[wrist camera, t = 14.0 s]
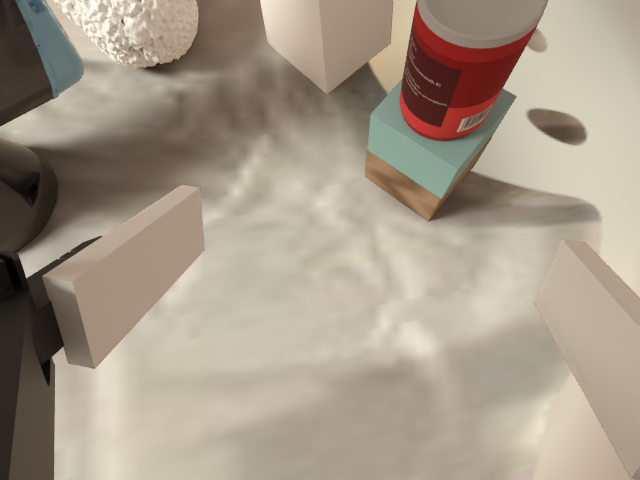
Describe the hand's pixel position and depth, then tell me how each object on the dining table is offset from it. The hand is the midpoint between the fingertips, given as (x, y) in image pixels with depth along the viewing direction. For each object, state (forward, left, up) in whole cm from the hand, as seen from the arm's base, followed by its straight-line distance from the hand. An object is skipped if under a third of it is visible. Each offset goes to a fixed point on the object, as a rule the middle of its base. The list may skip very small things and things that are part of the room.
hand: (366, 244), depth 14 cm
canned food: (-6, +18, -15) cm, 25 cm away
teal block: (-6, +18, -21) cm, 29 cm away
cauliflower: (-48, +13, -27) cm, 56 cm away
